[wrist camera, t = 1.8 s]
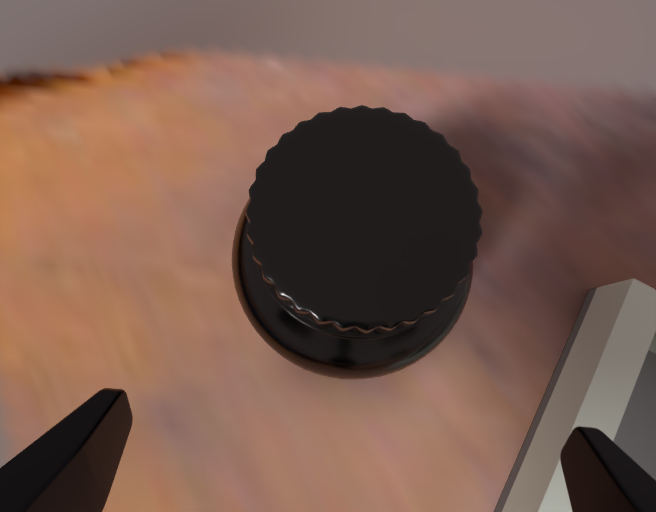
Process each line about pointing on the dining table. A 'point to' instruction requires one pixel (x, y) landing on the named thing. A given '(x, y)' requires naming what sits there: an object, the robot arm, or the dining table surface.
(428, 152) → the supplement bottle
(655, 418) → the tray
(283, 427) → the dining table surface
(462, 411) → the dining table surface
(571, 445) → the robot arm
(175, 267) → the dining table surface
